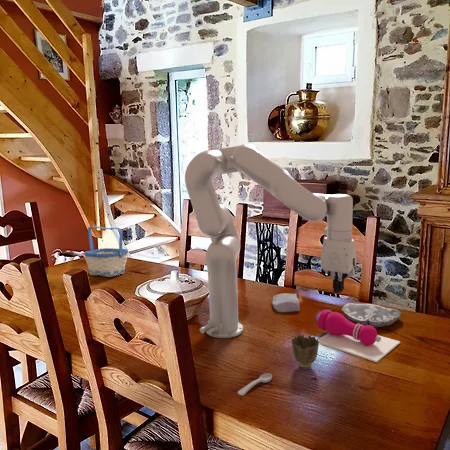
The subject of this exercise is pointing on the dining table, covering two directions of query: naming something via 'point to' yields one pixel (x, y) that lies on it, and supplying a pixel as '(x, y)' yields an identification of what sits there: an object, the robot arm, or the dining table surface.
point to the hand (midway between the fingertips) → (338, 291)
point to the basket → (106, 257)
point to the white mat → (359, 346)
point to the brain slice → (371, 314)
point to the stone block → (286, 302)
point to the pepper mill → (347, 327)
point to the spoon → (263, 378)
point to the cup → (305, 350)
